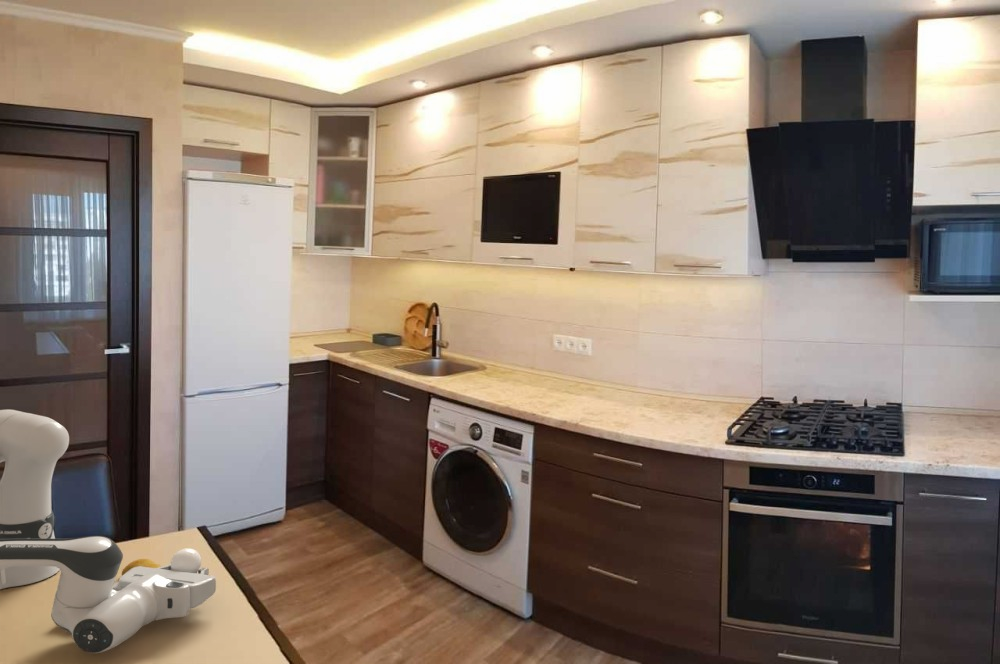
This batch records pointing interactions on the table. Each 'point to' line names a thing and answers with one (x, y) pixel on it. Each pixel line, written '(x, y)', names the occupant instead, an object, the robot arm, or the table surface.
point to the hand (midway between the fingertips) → (189, 568)
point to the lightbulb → (186, 561)
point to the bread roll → (140, 563)
